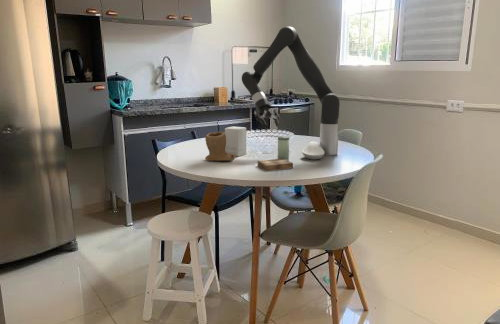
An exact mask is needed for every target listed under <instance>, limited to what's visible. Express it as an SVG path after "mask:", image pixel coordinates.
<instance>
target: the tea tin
mask: <svg viewBox="0 0 500 324" xmlns="http://www.w3.org/2000/svg"><path fill="white" fill-rule="evenodd" d="M283 158H284V159H286V160H289V161H290V159H289V158H290V136H286V135H279V136H277V159H283Z"/></svg>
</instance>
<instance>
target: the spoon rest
mask: <svg viewBox="0 0 500 324" xmlns="http://www.w3.org/2000/svg"><path fill="white" fill-rule="evenodd" d="M301 153H302V155H303V156H304V158H306V159H308V160H319V159H321V158H323V157H324V156H325V155H324V150H323V149H322V148H321V147H320V143H318V142H317V141H310V142H309V143H308V145H306V146H305V147H304V148H303V149H302V151H301Z"/></svg>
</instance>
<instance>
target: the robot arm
mask: <svg viewBox="0 0 500 324" xmlns="http://www.w3.org/2000/svg"><path fill="white" fill-rule="evenodd" d="M286 48H288V49H289V51H291V54H292V56H293V58H294V59H295V62H296V66H297V68H298V70H299V71H300V73H301V75H302V77H303V79H305V81H306V82H307V84H308V85H309V86H310V88H312V89H313V91H314V92H315V94H316V96H317V98H318V100H319V101H320V104H321V113H320V115H321V116H320V130H319V133H320V134H319V146H320V147H321V148H322V149H323V150H324V155H323V156H336V155H338V151H339V149H338V148H339V136H338V126H339V125H338V122H339V117H340V99H339V97H338V96H337V95H336V94H335V93H334V91H332V90H331V88H330V87H329V85H328V84H327V83H326V80H325V78H324V75H323V73H322V72H321V69H320V67H319V66H318V64H317V63H316V62H315V60H314V58H313V57H312V55H311V54H310V53H309V51H308V50H307V48H306V47H305V46H304V44H303V41H302V39H301V37H300V36H299V33H298V32H297V30H296V29H295V27H293V26H289V25H287V26H284V27H281V28H280V29H279V30H278V33H277V34H276V37H274V40H273V41H272V42H271V43H270V45H269V47H268V48H267V49H266V50H265V52H264V53H263V54H262V55H260V57H259V59H258V60H257V61H256V62H255V63H254V64H253V71H254V72H251V71H245V72H243V73H242V75H241V83H242V85H243V86H244V87H245V88H246V90H247V91H248V92H249V94H250V96H251V99H252V103H253V104H254V107H255V110H254V112H253V115H254V118H255V119H256V120H255V121H257V122H260V123H261V125H262V127H263V128H266V127H267V125H268V124H267V123H266V120H265V119H270V120H272V121H274V122H273V123H274V124H275V126H276V128H278V127H279V126H280V122H279V119H280V118H281V116H280V114H279V112H278V110H277V109H276V108H274V109H271V105H270V102H269V100H268V98H267V96H266V94H265V93H264V91H263V89H262V87H261V85H259V83H260V81H261V80H262V78H263V76H264V74H265V72H266V71H267V70H268V69H269V68H270V66H271V65H272V64H273V62H274V61H275V59H276V58H277V57H278V56H279V54H280V53H281V52H282V51H283V50H284V49H286Z"/></svg>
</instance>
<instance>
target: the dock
mask: <svg viewBox="0 0 500 324" xmlns="http://www.w3.org/2000/svg"><path fill="white" fill-rule="evenodd" d="M257 166H258V167H259V168H261V169H263V170H264V171H265V172H266V171H277V170H285V169H293V168H294V163H293V161H290V159H289V160H286V159H284V158H283V159H278V158H274V159H262V160H257Z"/></svg>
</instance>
